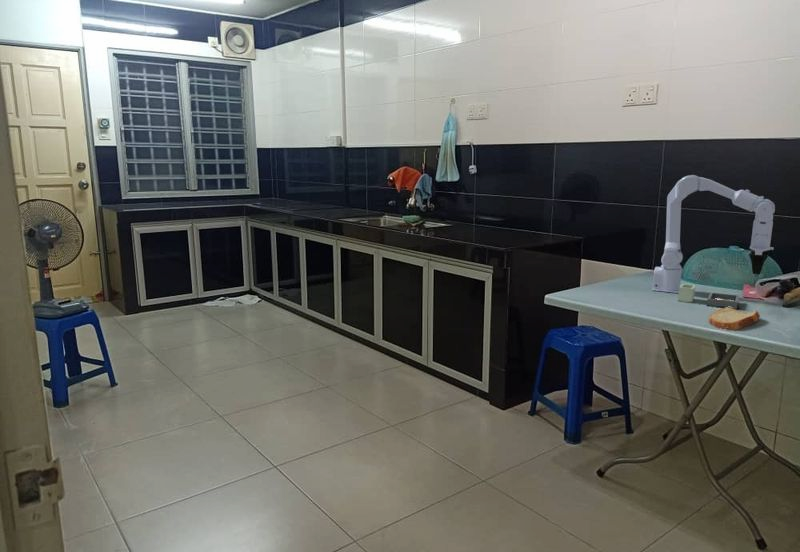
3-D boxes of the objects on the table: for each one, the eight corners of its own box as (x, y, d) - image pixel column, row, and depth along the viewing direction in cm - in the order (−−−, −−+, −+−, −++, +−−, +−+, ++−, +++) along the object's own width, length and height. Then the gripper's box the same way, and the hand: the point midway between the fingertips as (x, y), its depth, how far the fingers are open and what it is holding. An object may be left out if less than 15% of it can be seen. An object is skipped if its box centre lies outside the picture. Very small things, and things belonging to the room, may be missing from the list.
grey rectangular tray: (706, 305, 192) (707, 298, 192) (710, 299, 201) (710, 292, 201) (736, 309, 187) (737, 302, 187) (738, 302, 197) (739, 295, 196)
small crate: (677, 301, 199) (679, 287, 198) (680, 297, 205) (682, 283, 204) (691, 302, 197) (693, 288, 196) (694, 298, 202) (695, 285, 201)
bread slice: (720, 331, 164) (722, 319, 164) (692, 315, 182) (693, 304, 181) (783, 331, 164) (785, 319, 163) (748, 315, 181) (749, 304, 181)
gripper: (774, 237, 187) (769, 277, 190) (775, 232, 199) (770, 270, 202) (750, 236, 191) (745, 274, 194) (752, 231, 203) (748, 268, 206)
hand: (756, 272), depth 198 cm, fingers open, 7 cm apart
